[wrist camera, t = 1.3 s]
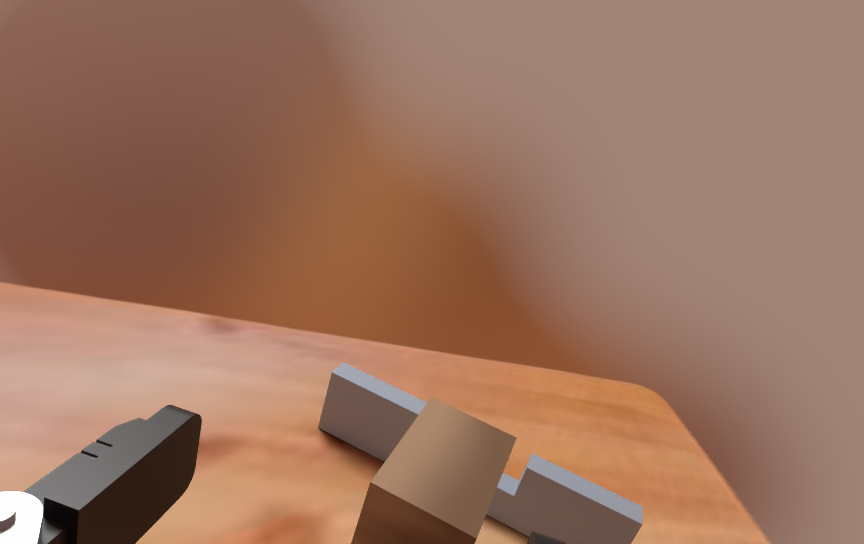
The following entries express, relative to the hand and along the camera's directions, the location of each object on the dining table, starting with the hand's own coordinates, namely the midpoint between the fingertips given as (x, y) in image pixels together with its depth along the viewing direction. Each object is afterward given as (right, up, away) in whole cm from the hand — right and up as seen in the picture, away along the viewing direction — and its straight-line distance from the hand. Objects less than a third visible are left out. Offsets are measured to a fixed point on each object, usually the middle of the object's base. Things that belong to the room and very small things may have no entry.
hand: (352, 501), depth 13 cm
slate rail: (+4, -10, +27) cm, 29 cm away
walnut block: (-1, -14, +14) cm, 20 cm away
